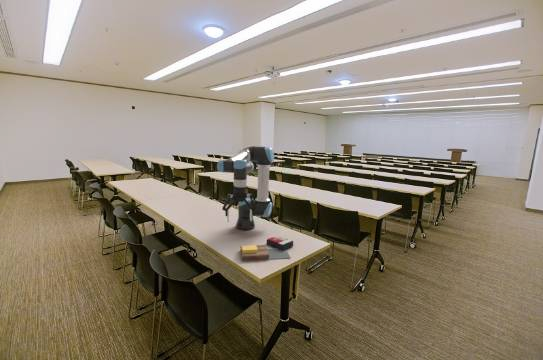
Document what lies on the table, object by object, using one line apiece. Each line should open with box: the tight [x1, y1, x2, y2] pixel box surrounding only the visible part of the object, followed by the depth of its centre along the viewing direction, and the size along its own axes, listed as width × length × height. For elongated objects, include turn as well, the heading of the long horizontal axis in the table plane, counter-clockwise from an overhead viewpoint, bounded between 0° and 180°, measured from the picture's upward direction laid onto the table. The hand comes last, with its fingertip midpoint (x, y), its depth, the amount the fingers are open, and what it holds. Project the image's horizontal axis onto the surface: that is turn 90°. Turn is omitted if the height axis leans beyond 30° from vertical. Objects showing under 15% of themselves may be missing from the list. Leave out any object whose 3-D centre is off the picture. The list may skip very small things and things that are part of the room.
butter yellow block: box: [241, 244, 258, 253], centre depth 157 cm, size 6×9×2 cm, turn 101°
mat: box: [267, 247, 291, 261], centre depth 161 cm, size 14×13×1 cm
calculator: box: [266, 235, 294, 250], centre depth 174 cm, size 11×4×15 cm
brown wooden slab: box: [240, 244, 270, 262], centre depth 158 cm, size 14×16×3 cm
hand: (239, 221), depth 153 cm, fingers open, 13 cm apart
